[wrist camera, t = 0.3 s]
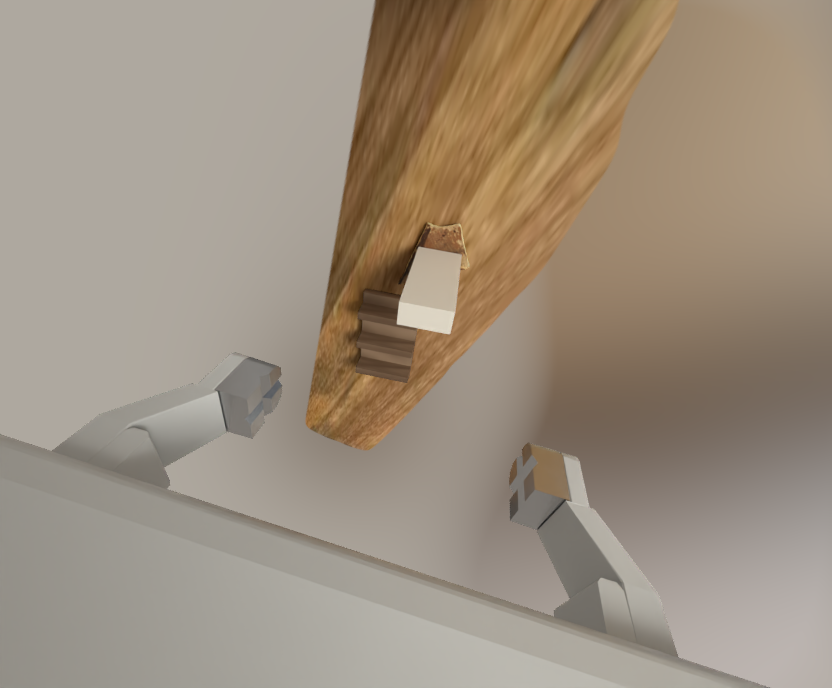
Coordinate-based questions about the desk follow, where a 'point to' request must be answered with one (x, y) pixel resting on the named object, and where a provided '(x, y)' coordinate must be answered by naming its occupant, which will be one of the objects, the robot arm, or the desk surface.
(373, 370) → the drying rack
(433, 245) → the shard
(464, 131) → the desk surface
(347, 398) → the desk surface
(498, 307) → the desk surface
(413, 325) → the clay bar
